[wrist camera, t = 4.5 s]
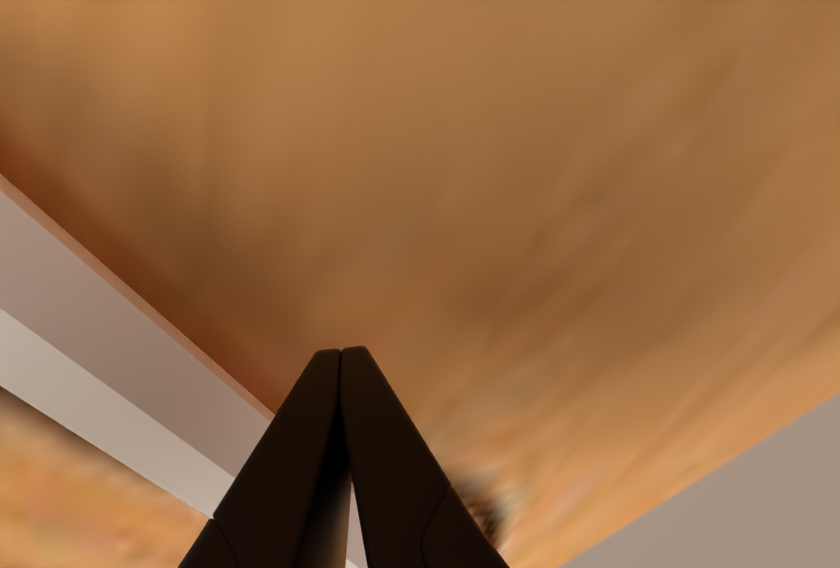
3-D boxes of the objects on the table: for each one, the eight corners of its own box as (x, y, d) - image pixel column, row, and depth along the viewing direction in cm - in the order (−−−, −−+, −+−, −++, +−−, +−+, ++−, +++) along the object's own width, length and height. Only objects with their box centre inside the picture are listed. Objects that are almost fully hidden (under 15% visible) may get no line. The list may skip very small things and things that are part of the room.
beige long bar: (-374, -170, 6) (362, 486, 15) (-581, -76, 6) (305, 546, 15) (-596, -306, 4) (410, 550, 13) (-949, -175, 4) (346, 621, 12)
